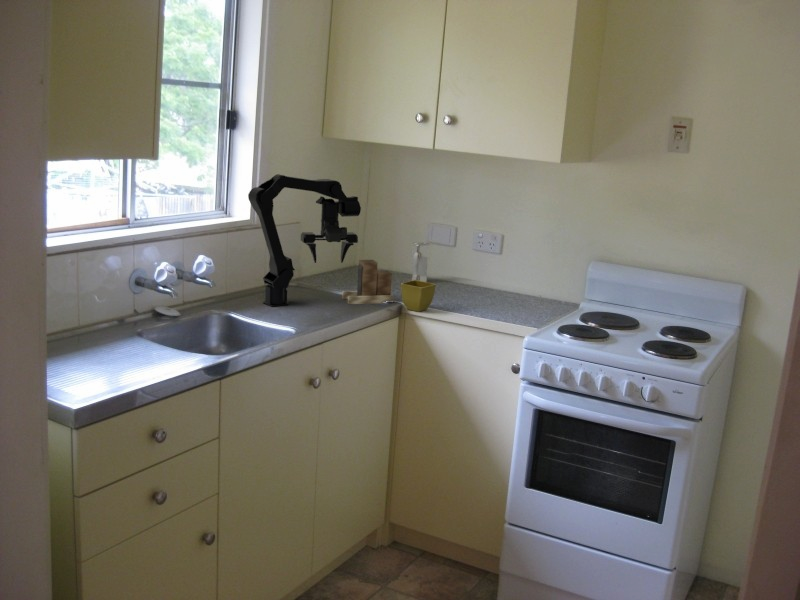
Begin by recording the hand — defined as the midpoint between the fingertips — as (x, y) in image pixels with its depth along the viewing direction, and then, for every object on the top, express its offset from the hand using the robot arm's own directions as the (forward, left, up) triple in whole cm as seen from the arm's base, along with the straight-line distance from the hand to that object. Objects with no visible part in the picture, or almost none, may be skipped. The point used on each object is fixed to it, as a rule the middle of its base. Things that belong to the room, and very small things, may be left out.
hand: (328, 262), depth 303 cm
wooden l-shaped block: (+11, -7, -13) cm, 19 cm away
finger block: (+11, -7, -13) cm, 19 cm away
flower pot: (+19, -25, -13) cm, 34 cm away
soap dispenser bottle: (+49, +10, -13) cm, 52 cm away
